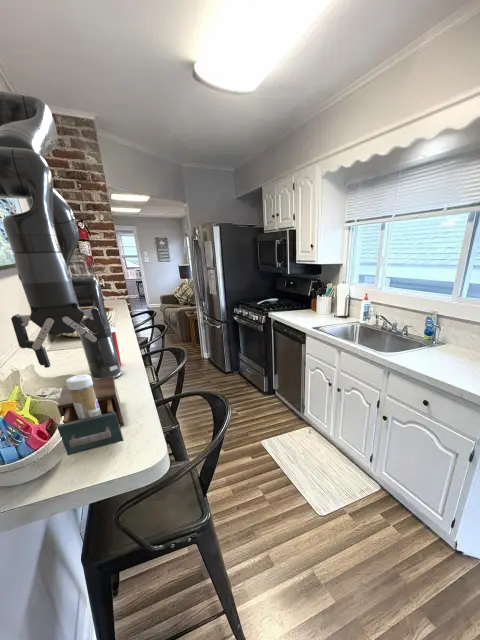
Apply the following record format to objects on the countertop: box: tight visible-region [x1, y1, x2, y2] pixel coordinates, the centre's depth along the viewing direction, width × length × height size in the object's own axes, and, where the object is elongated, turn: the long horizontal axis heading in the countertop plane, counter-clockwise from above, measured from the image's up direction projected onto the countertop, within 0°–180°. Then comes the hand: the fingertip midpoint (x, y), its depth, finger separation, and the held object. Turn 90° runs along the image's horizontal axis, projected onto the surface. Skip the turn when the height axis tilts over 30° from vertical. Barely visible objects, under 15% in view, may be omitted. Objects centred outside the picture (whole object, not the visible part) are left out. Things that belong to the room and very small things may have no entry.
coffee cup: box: [110, 325, 122, 367], centre depth 116 cm, size 8×8×15 cm
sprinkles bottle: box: [65, 374, 102, 420], centre depth 67 cm, size 5×5×13 cm
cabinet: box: [56, 377, 125, 427], centre depth 78 cm, size 14×12×9 cm
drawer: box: [56, 398, 124, 456], centre depth 68 cm, size 17×10×7 cm, turn 30°
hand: (73, 362), depth 63 cm, fingers open, 8 cm apart
